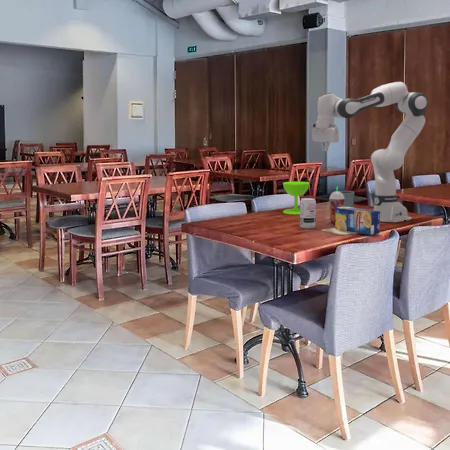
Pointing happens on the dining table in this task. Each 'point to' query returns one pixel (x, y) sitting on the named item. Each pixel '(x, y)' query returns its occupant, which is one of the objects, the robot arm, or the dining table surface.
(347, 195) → the grey green plant pot
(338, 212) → the cracker box
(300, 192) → the wineglass
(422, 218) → the dining table surface
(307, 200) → the supplement can
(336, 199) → the smoothie
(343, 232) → the board
